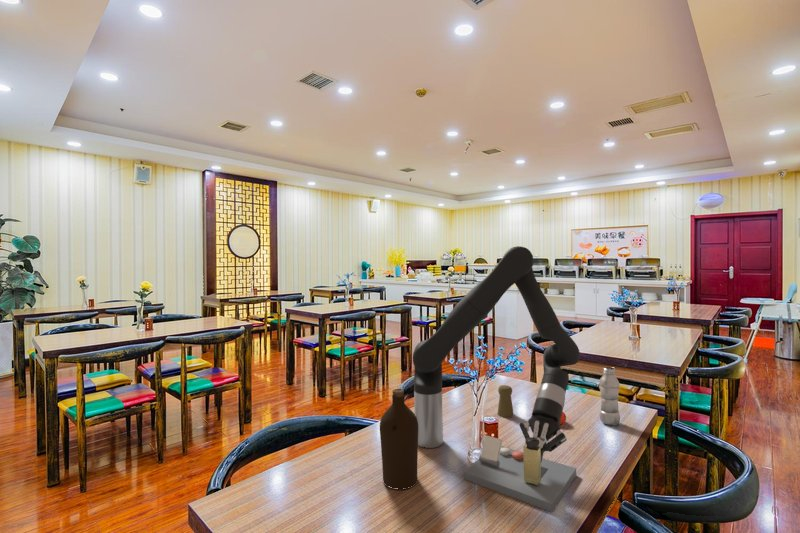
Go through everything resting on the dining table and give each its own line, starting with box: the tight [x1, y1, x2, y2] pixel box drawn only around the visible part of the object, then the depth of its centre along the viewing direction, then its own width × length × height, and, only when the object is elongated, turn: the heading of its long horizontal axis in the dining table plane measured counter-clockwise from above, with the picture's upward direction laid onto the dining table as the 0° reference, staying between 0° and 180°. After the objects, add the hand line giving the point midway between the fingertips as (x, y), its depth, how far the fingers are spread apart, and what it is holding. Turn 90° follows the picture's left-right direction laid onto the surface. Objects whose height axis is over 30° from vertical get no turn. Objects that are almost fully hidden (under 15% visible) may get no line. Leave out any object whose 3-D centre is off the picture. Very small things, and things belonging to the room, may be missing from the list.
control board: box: [463, 445, 577, 513], centre depth 111 cm, size 24×20×3 cm
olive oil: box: [379, 388, 419, 489], centre depth 110 cm, size 11×11×25 cm
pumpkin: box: [559, 410, 567, 425], centre depth 147 cm, size 7×8×6 cm
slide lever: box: [522, 436, 541, 486], centre depth 104 cm, size 4×3×11 cm
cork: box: [497, 384, 515, 419], centre depth 154 cm, size 6×6×11 cm
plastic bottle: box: [598, 366, 621, 426], centre depth 144 cm, size 6×7×20 cm
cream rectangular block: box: [478, 434, 503, 467], centre depth 115 cm, size 6×2×7 cm, turn 51°
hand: (534, 463), depth 106 cm, fingers closed
